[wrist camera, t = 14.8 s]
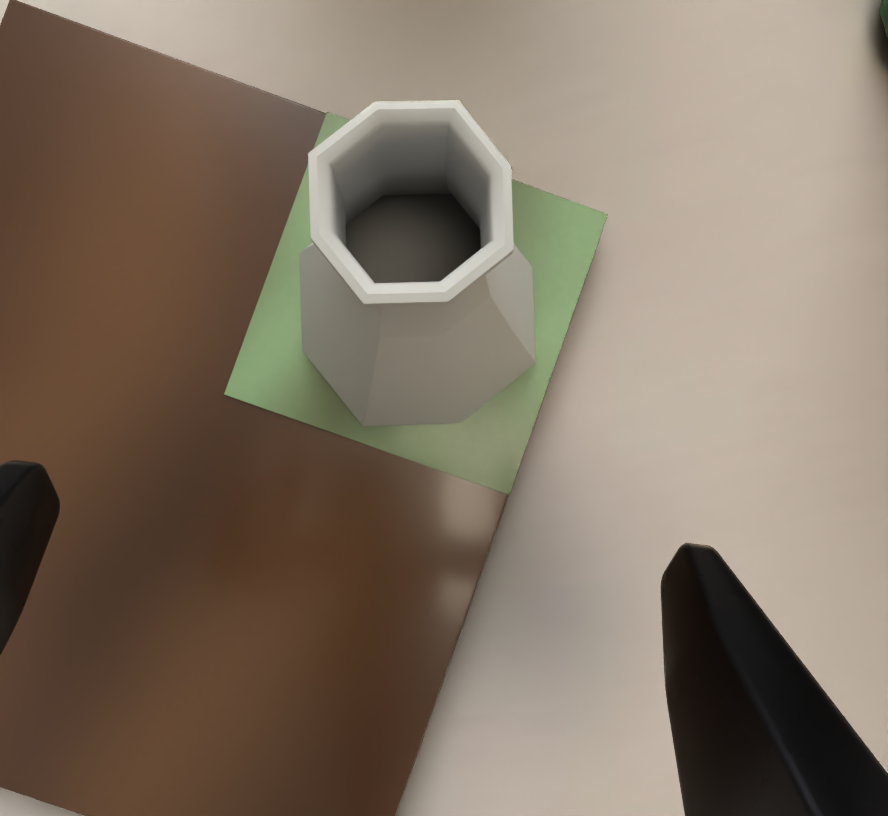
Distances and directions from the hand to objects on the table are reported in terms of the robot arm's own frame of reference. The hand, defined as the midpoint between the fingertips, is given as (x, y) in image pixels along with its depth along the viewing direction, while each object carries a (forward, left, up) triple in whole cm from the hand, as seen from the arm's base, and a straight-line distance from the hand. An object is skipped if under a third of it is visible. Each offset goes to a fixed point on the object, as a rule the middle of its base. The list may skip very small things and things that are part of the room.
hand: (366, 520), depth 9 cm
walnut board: (-6, -2, -12) cm, 13 cm away
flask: (-1, +5, -11) cm, 12 cm away
